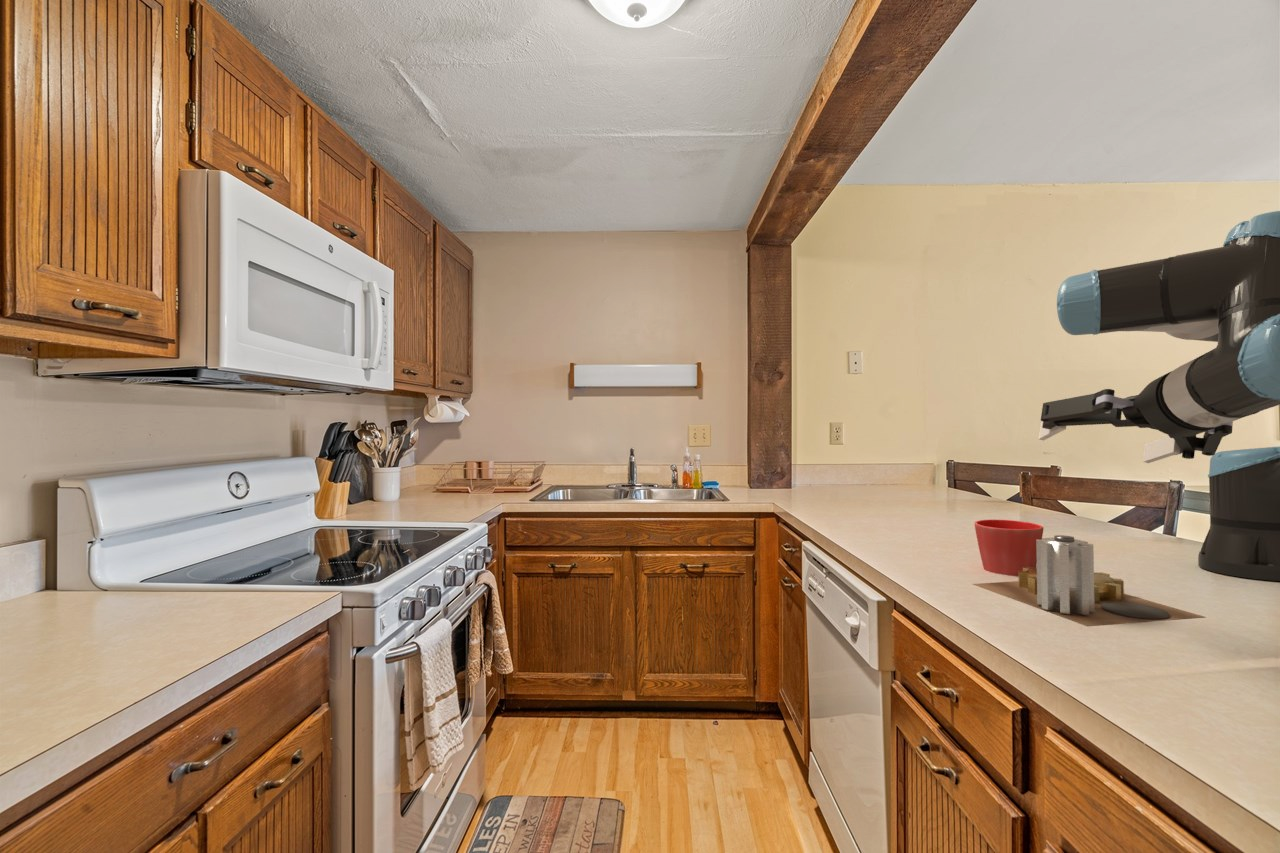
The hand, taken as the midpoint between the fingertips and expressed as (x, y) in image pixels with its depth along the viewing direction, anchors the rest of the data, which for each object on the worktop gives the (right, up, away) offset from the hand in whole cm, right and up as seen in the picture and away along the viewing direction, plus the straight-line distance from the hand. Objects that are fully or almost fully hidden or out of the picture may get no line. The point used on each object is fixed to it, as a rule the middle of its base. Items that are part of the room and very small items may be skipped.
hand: (1093, 442), depth 87 cm
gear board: (+2, -25, +5) cm, 26 cm away
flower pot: (+2, -26, +24) cm, 35 cm away
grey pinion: (-4, -25, 0) cm, 25 cm away
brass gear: (+3, -24, +10) cm, 26 cm away
